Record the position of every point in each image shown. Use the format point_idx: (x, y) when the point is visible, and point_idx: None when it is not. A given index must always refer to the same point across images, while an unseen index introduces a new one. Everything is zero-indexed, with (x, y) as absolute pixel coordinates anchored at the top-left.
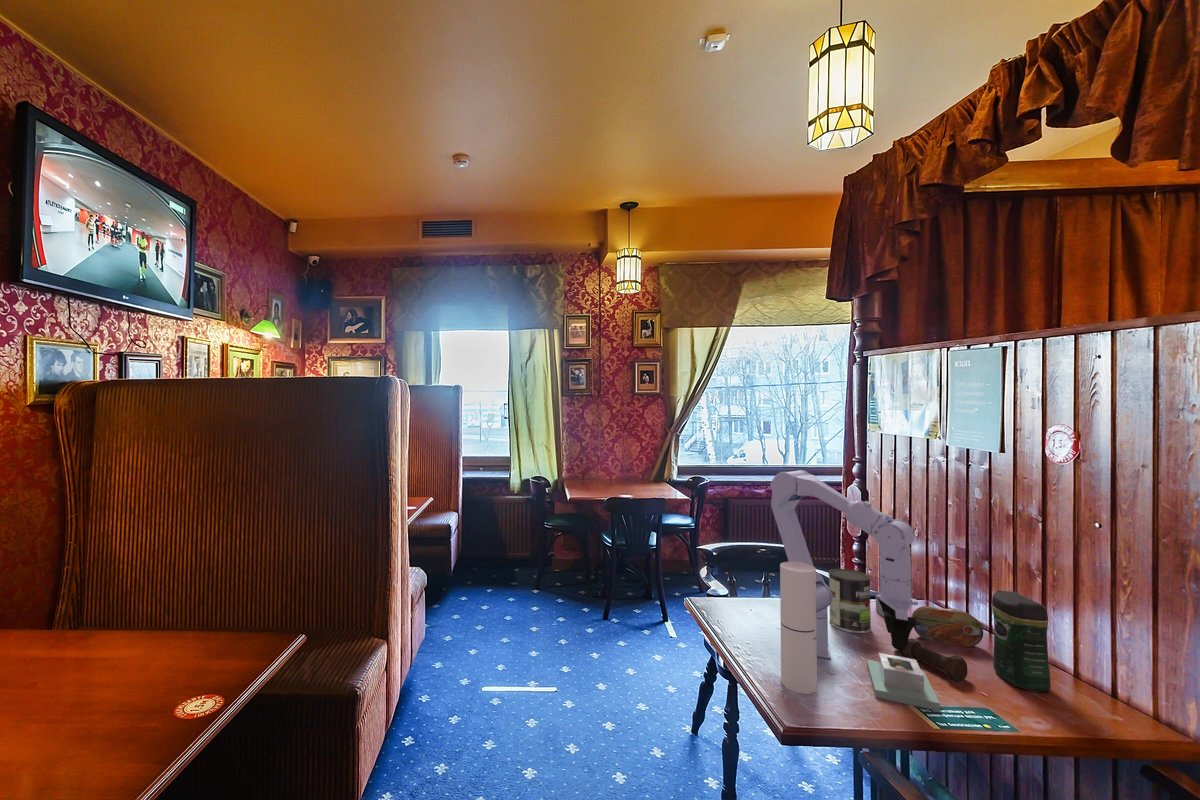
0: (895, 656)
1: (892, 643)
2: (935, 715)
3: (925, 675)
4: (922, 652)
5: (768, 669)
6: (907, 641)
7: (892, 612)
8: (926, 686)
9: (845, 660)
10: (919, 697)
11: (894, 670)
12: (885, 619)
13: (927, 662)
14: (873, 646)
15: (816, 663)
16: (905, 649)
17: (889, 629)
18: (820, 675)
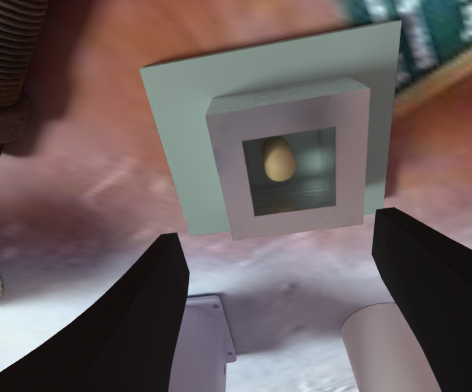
0: (228, 190)
1: (381, 269)
2: (422, 39)
3: (181, 62)
4: (3, 70)
5: (342, 369)
6: (437, 232)
7: (147, 380)
8: (281, 64)
9: (196, 267)
10: (382, 92)
11: (364, 193)
12: (175, 345)
13: (34, 47)
14: (32, 211)
15: (423, 364)
16: (396, 208)
17: (184, 281)
18: (317, 302)
